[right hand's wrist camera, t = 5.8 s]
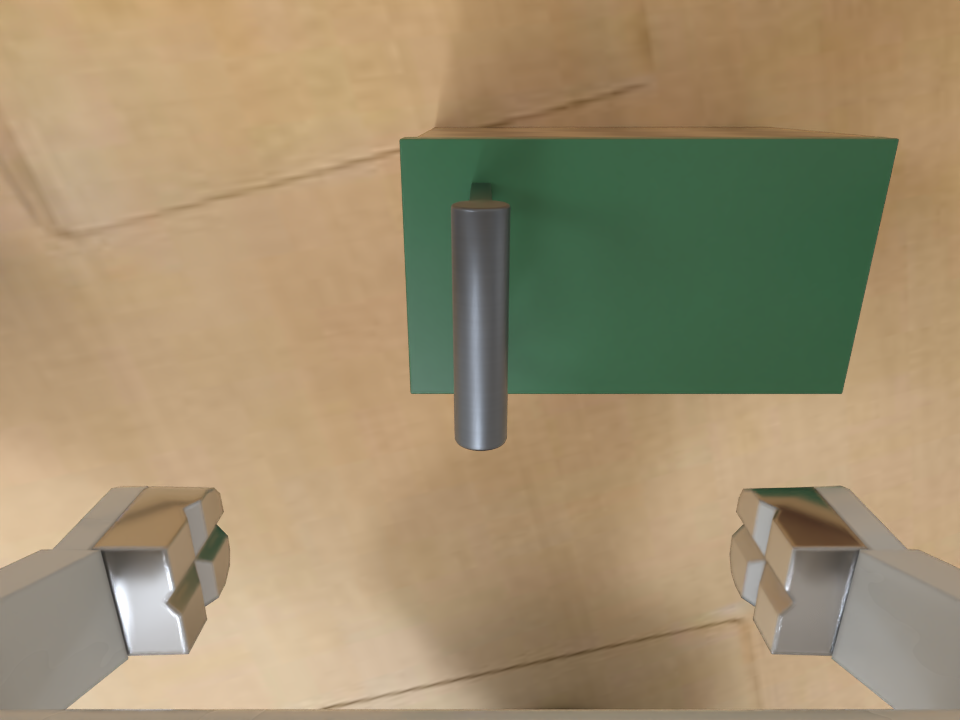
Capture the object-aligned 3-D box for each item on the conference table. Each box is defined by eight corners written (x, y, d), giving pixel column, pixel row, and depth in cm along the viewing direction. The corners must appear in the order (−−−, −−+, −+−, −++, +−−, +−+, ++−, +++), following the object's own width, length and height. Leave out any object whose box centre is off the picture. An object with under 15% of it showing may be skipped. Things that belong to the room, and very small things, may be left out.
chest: (437, 313, 37) (423, 381, 28) (433, 127, 33) (415, 137, 24) (742, 313, 37) (826, 381, 28) (771, 127, 33) (878, 136, 24)
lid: (413, 381, 28) (387, 490, 20) (403, 137, 24) (366, 153, 16) (827, 382, 28) (961, 490, 20) (879, 136, 24) (1068, 153, 16)
